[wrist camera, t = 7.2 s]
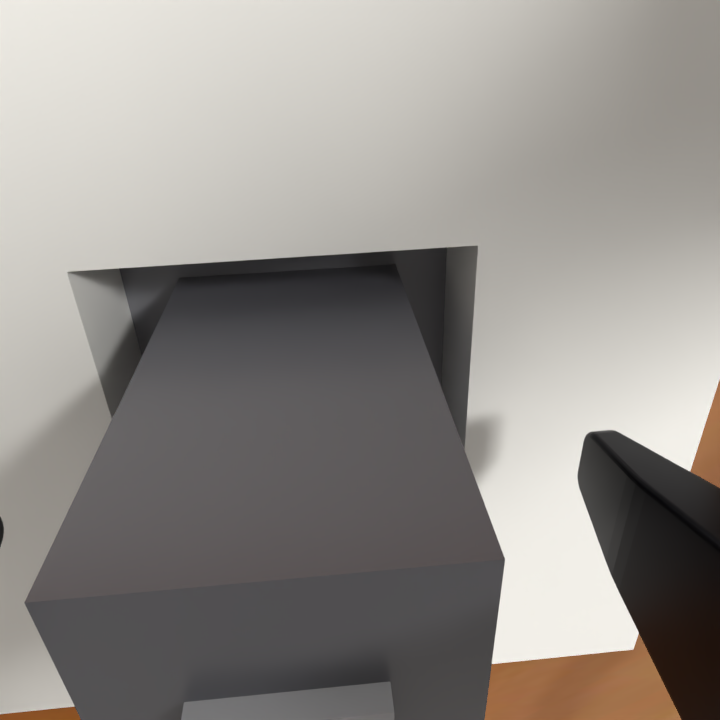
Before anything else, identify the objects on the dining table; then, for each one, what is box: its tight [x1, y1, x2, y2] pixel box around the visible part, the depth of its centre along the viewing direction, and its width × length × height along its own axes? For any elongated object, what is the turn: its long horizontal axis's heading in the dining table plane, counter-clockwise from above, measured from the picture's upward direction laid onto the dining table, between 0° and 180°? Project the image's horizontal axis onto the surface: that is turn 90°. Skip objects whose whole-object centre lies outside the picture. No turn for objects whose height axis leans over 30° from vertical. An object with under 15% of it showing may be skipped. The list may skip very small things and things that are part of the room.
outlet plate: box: [0, 0, 720, 714], centre depth 11 cm, size 15×15×3 cm
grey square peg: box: [24, 264, 505, 720], centre depth 9 cm, size 4×4×7 cm
